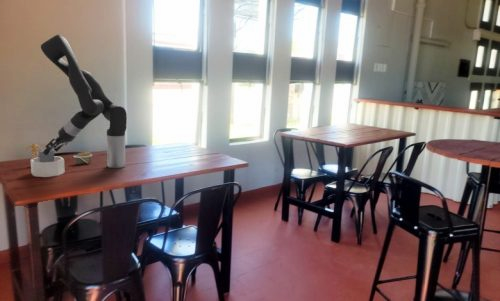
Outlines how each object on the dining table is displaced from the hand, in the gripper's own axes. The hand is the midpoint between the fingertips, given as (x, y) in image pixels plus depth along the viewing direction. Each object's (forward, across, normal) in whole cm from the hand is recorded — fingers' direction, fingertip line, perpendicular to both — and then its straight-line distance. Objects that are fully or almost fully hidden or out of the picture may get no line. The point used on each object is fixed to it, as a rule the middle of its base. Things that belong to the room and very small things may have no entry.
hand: (50, 151), depth 187 cm
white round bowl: (+9, 0, +6) cm, 11 cm away
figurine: (+19, -11, -3) cm, 22 cm away
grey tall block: (+8, +1, +6) cm, 10 cm away
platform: (+5, -22, +11) cm, 26 cm away
